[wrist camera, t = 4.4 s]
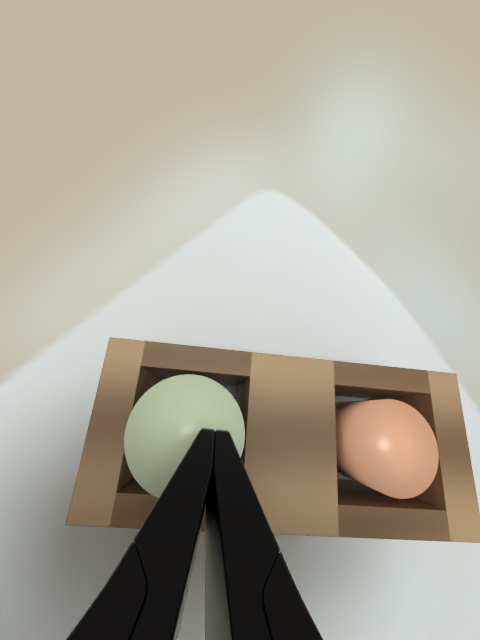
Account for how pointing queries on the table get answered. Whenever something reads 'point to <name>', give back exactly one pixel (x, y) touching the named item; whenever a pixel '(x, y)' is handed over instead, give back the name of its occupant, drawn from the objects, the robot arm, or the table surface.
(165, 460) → the pale green egg
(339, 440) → the peach orange egg
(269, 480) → the wooden compartment box
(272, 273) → the table surface
